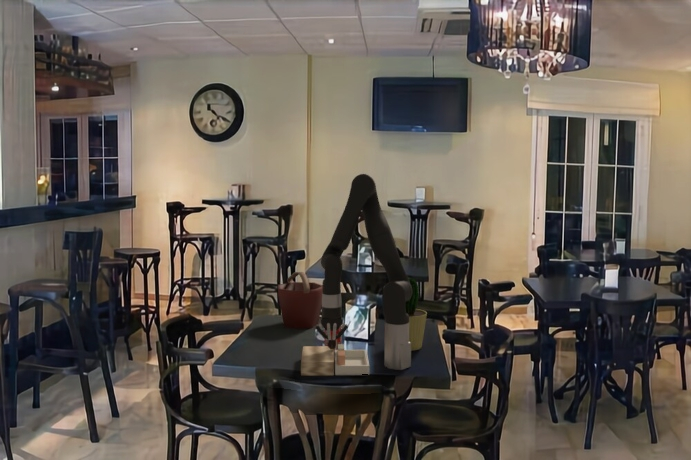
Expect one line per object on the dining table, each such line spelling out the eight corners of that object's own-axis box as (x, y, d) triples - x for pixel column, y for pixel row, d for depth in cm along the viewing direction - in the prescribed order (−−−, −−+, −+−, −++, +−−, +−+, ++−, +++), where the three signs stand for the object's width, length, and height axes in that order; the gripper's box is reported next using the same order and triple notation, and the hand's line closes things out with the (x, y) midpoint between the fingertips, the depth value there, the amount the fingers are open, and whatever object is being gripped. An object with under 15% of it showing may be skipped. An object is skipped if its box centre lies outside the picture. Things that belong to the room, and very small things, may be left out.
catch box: (366, 358, 253) (366, 349, 253) (369, 375, 233) (369, 365, 233) (334, 358, 253) (334, 349, 253) (335, 375, 233) (335, 365, 233)
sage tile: (337, 358, 251) (344, 358, 251) (337, 363, 245) (344, 363, 245) (337, 344, 250) (344, 344, 250) (337, 348, 244) (344, 348, 244)
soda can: (339, 352, 261) (339, 323, 260) (322, 351, 263) (322, 322, 261) (343, 347, 268) (343, 319, 267) (326, 346, 270) (326, 318, 268)
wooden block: (333, 358, 253) (333, 346, 252) (333, 375, 233) (333, 361, 233) (303, 358, 253) (303, 346, 252) (301, 375, 233) (300, 362, 232)
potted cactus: (398, 339, 280) (399, 272, 277) (431, 344, 272) (432, 275, 269) (383, 348, 266) (384, 277, 263) (418, 354, 259) (419, 281, 256)
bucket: (278, 318, 317) (277, 268, 314) (322, 317, 319) (322, 268, 317) (278, 331, 293) (277, 277, 290) (326, 330, 295) (326, 277, 292)
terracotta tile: (338, 366, 242) (344, 366, 242) (338, 371, 236) (345, 371, 236) (338, 350, 241) (344, 350, 241) (338, 355, 235) (345, 355, 235)
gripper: (348, 302, 249) (348, 345, 251) (314, 302, 248) (314, 346, 250) (349, 307, 241) (349, 351, 243) (314, 307, 241) (314, 351, 243)
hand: (331, 348), depth 247 cm, fingers closed
